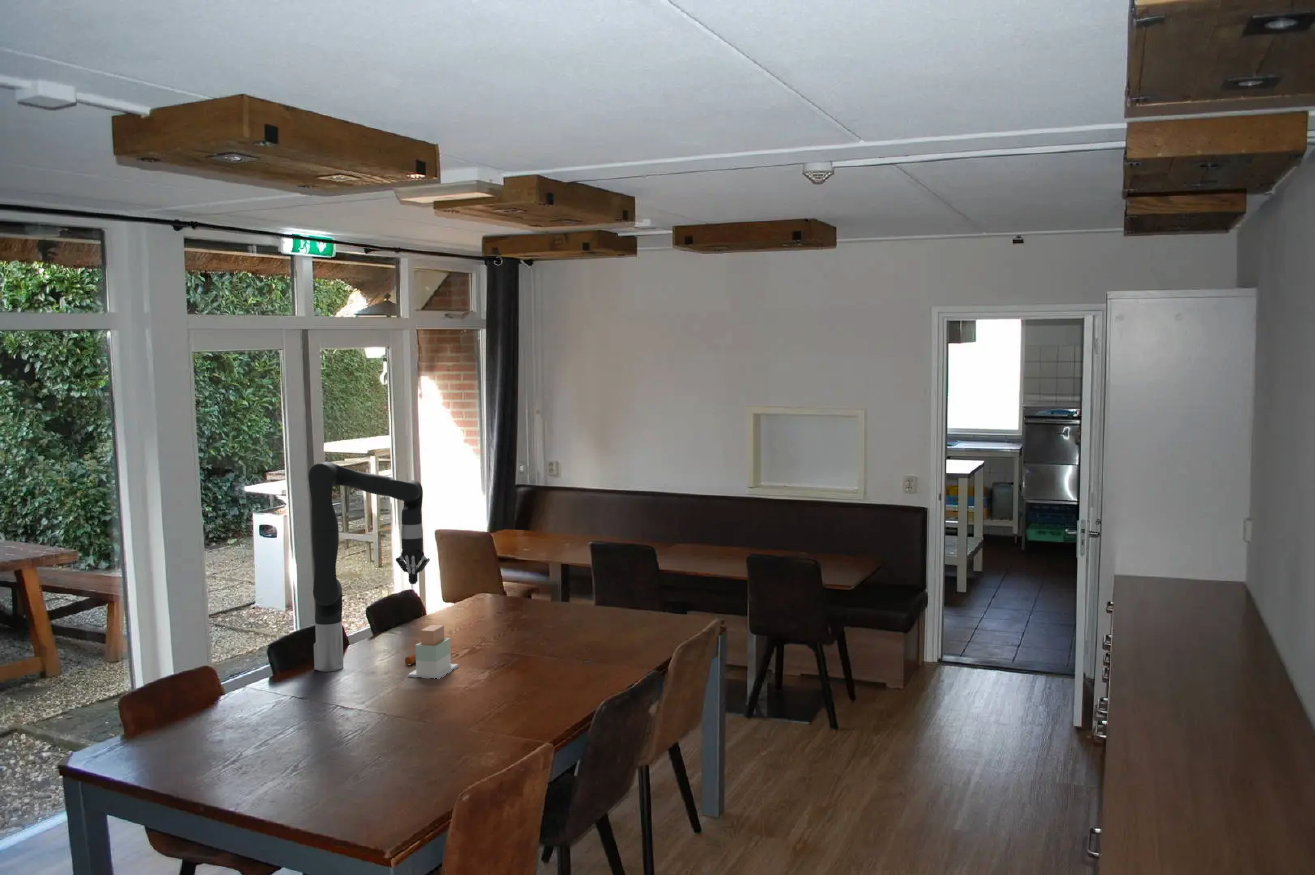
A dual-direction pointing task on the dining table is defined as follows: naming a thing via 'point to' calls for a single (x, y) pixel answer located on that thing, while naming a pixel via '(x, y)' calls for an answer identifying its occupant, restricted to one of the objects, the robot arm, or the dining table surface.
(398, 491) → the robot arm
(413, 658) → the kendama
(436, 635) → the brick
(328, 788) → the dining table surface
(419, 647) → the mint open-top box
